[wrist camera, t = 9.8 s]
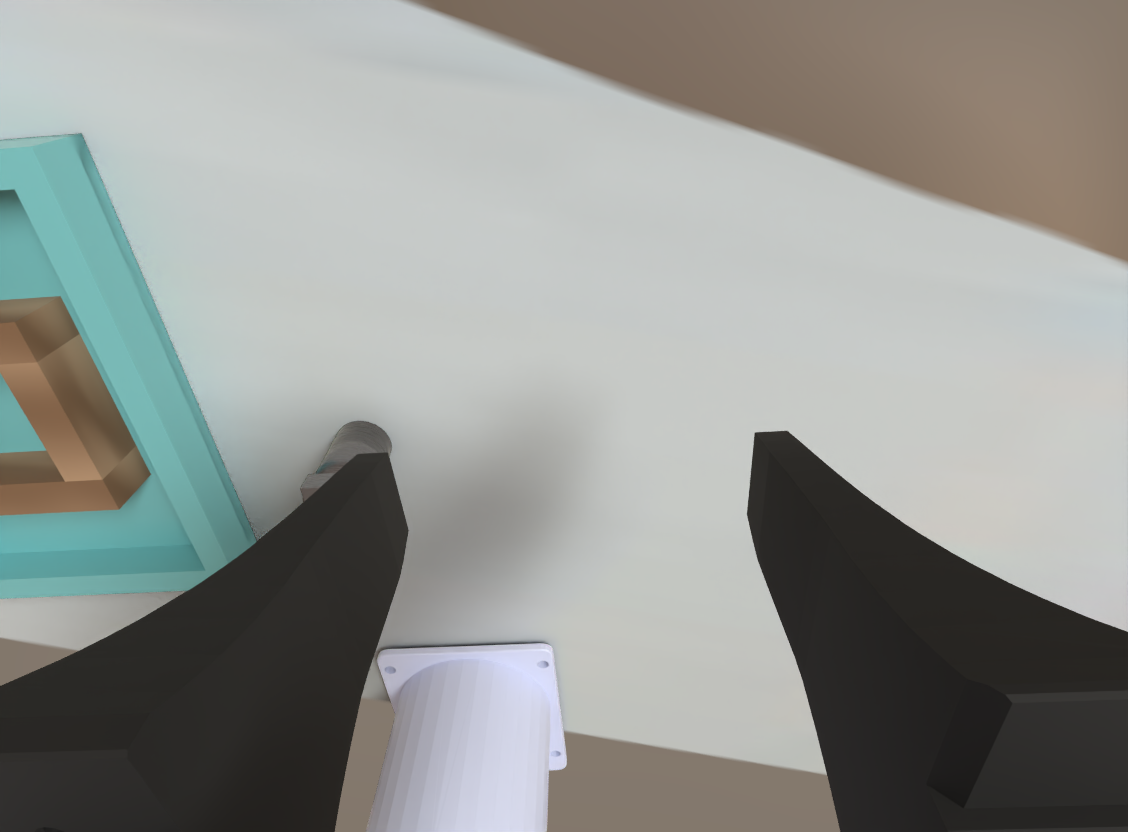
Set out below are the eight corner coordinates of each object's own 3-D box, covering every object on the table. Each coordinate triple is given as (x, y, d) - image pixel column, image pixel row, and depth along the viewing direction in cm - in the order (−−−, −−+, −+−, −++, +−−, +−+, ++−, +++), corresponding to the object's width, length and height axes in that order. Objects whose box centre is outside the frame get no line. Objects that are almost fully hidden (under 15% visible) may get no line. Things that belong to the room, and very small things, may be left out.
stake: (398, 471, 25) (368, 549, 21) (346, 473, 25) (308, 552, 21) (383, 412, 23) (348, 486, 20) (328, 415, 23) (283, 489, 20)
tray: (261, 551, 27) (240, 588, 25) (-18, 564, 28) (-56, 601, 26) (81, 133, 19) (31, 146, 17) (-315, 165, 19) (-401, 180, 17)
